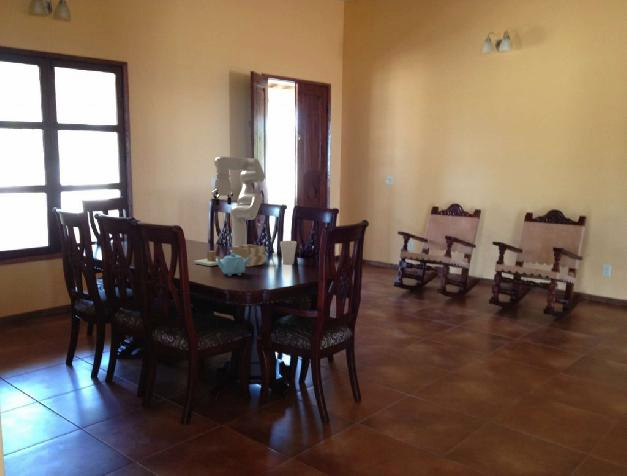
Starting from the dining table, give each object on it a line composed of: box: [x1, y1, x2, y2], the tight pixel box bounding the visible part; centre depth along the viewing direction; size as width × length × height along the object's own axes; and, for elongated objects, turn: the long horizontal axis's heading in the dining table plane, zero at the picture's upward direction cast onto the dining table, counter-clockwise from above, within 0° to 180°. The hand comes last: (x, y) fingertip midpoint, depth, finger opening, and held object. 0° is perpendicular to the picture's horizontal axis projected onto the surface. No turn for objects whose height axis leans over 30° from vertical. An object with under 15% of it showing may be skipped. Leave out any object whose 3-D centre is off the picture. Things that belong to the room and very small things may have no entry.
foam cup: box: [279, 240, 297, 265], centre depth 322 cm, size 10×9×13 cm
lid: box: [193, 250, 224, 267], centre depth 319 cm, size 15×15×8 cm
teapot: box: [215, 253, 251, 277], centre depth 289 cm, size 15×14×11 cm
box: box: [231, 243, 267, 267], centre depth 321 cm, size 14×14×10 cm
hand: (223, 204), depth 335 cm, fingers open, 9 cm apart
